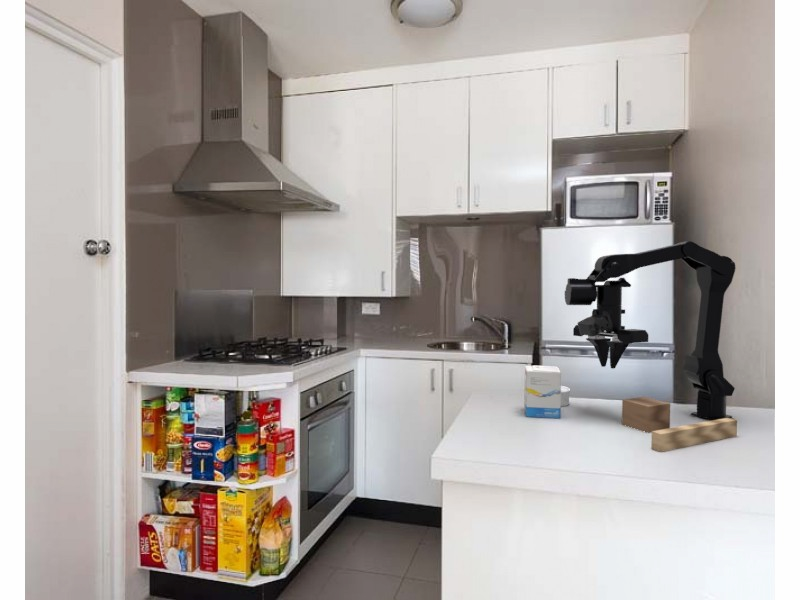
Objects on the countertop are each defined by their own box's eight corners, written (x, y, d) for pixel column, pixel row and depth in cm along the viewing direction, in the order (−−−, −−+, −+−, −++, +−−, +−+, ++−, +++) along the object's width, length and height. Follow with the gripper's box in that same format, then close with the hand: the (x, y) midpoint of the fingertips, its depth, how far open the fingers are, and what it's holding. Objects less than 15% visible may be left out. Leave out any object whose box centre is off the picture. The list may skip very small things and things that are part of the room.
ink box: (561, 419, 118) (561, 371, 118) (525, 417, 120) (526, 370, 120) (557, 409, 127) (557, 365, 126) (523, 408, 128) (524, 364, 128)
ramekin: (571, 408, 128) (571, 392, 128) (536, 406, 131) (536, 390, 131) (569, 400, 137) (569, 385, 137) (536, 398, 139) (536, 383, 139)
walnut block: (643, 421, 116) (643, 396, 116) (669, 429, 110) (670, 403, 110) (622, 425, 114) (622, 399, 113) (648, 433, 107) (648, 406, 107)
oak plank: (727, 433, 107) (727, 417, 107) (736, 436, 105) (737, 420, 105) (651, 448, 97) (651, 431, 97) (660, 451, 95) (660, 434, 95)
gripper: (557, 304, 126) (556, 364, 127) (616, 307, 109) (615, 376, 110) (589, 303, 131) (588, 361, 131) (650, 306, 114) (649, 372, 114)
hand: (608, 367), depth 121 cm, fingers open, 3 cm apart
